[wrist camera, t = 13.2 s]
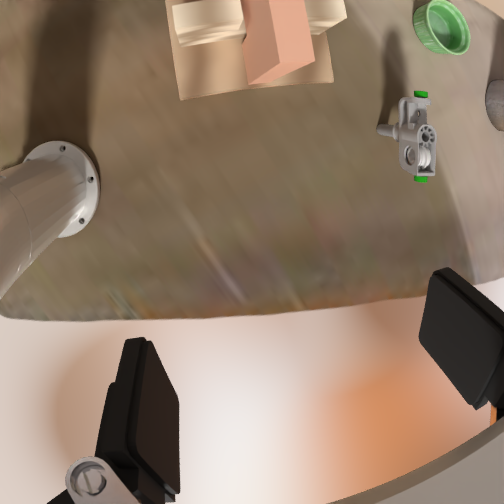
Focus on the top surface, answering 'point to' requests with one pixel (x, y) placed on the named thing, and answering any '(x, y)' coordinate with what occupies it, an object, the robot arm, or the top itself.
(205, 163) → the top surface
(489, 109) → the pillar candle
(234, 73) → the slotted stand
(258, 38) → the salmon pink flat slab
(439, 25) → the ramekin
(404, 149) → the mechanical component
